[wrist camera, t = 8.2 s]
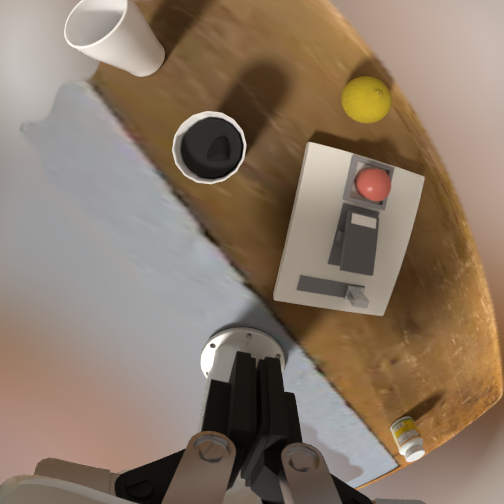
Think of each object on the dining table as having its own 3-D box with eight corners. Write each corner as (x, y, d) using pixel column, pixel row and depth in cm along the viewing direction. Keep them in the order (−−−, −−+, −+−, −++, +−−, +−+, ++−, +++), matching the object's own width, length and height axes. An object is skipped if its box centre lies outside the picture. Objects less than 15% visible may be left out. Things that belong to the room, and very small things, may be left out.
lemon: (360, 134, 34) (386, 129, 26) (325, 107, 33) (344, 95, 26) (381, 103, 33) (410, 93, 25) (348, 76, 32) (370, 58, 24)
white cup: (247, 122, 34) (244, 108, 24) (249, 176, 36) (248, 182, 26) (192, 126, 34) (170, 115, 24) (195, 179, 36) (174, 186, 26)
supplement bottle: (393, 418, 49) (408, 452, 40) (415, 413, 49) (432, 445, 40) (386, 434, 51) (399, 466, 41) (407, 429, 51) (422, 460, 41)
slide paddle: (359, 299, 38) (367, 311, 35) (343, 297, 38) (350, 309, 35) (363, 287, 38) (371, 298, 34) (347, 285, 37) (354, 295, 34)
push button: (377, 200, 34) (387, 204, 32) (351, 193, 34) (359, 196, 31) (383, 172, 33) (394, 174, 31) (357, 164, 33) (366, 165, 30)
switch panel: (378, 309, 41) (386, 321, 38) (273, 293, 40) (274, 305, 37) (417, 175, 35) (430, 177, 32) (306, 142, 35) (312, 141, 31)
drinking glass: (180, 43, 31) (142, -11, 16) (158, 88, 32) (105, 53, 18) (136, 33, 30) (85, -14, 15) (115, 76, 32) (51, 45, 17)
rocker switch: (370, 276, 34) (373, 275, 33) (339, 270, 34) (342, 270, 33) (376, 218, 35) (379, 217, 34) (346, 211, 34) (349, 209, 33)
